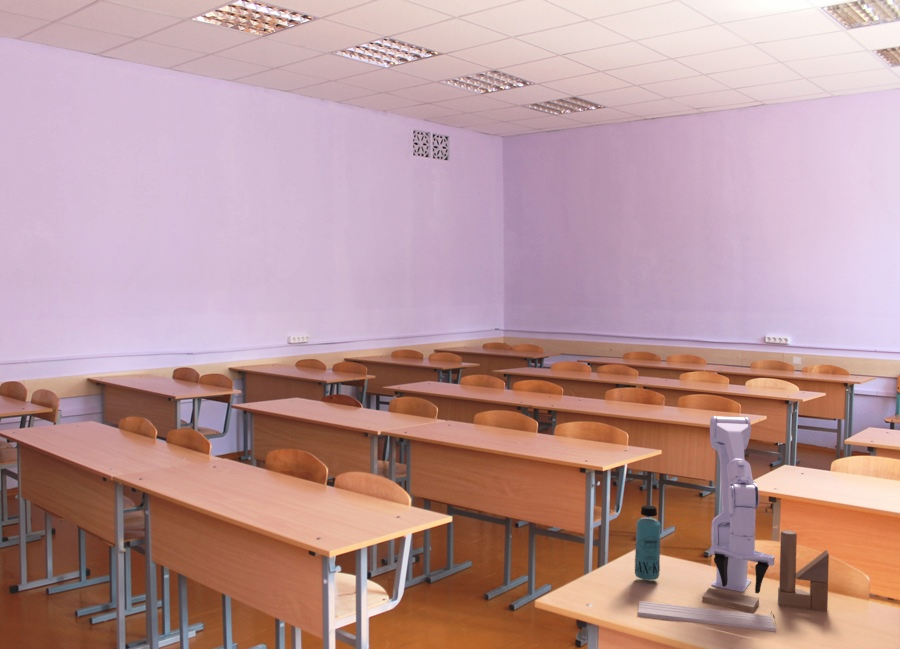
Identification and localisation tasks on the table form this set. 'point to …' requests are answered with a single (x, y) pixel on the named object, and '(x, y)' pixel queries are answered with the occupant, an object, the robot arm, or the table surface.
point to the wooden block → (802, 577)
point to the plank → (731, 600)
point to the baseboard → (706, 616)
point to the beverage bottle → (647, 545)
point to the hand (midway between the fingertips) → (741, 588)
